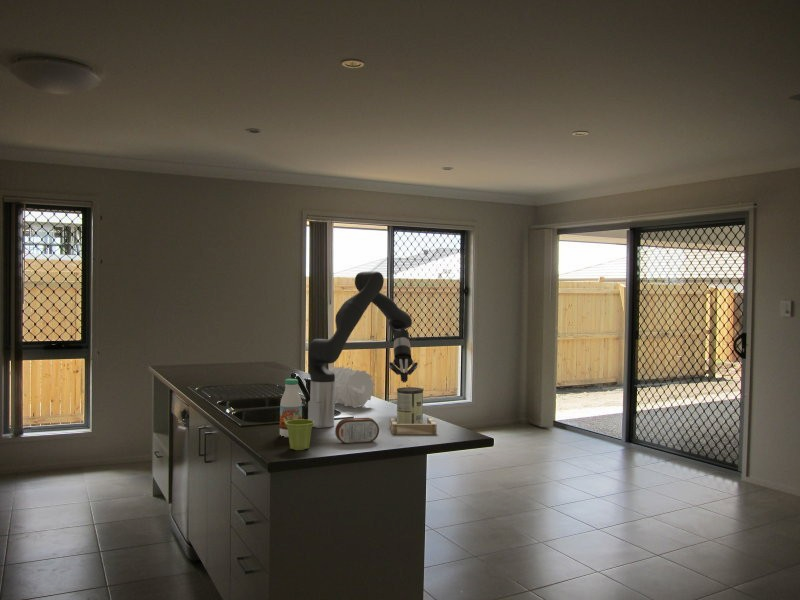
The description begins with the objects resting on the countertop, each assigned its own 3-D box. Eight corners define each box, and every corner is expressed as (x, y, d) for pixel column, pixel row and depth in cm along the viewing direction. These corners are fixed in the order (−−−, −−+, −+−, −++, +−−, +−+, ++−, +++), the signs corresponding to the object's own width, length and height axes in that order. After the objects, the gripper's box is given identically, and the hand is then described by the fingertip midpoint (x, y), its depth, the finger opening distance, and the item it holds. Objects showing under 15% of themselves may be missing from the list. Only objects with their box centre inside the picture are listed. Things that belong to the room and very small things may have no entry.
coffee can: (401, 421, 260) (401, 386, 260) (425, 423, 257) (426, 388, 257) (392, 426, 251) (393, 389, 251) (418, 428, 247) (418, 391, 247)
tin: (377, 440, 225) (377, 416, 225) (379, 442, 222) (380, 418, 222) (334, 443, 220) (335, 418, 220) (336, 445, 217) (337, 420, 217)
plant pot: (284, 452, 206) (285, 424, 206) (284, 445, 215) (285, 419, 215) (314, 451, 207) (314, 424, 207) (313, 444, 217) (313, 418, 217)
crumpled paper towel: (339, 409, 310) (369, 414, 290) (310, 396, 300) (339, 400, 281) (352, 373, 315) (383, 376, 296) (324, 359, 306) (354, 361, 286)
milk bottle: (277, 434, 233) (278, 378, 233) (298, 432, 236) (299, 377, 236) (282, 438, 226) (283, 381, 226) (304, 437, 229) (305, 380, 229)
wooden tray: (389, 426, 249) (389, 417, 249) (431, 426, 251) (431, 417, 251) (392, 434, 236) (392, 424, 236) (436, 434, 237) (436, 424, 237)
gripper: (387, 344, 284) (389, 375, 272) (417, 344, 285) (420, 375, 273) (386, 355, 289) (388, 386, 277) (416, 355, 291) (419, 386, 279)
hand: (404, 381), depth 275 cm, fingers closed
